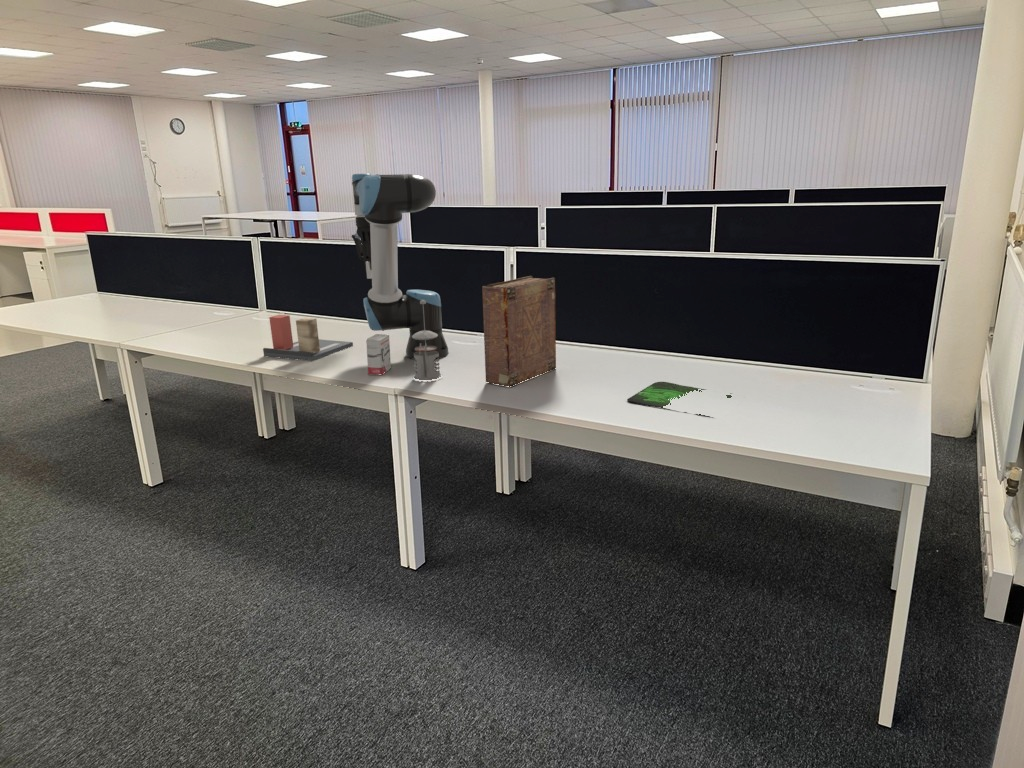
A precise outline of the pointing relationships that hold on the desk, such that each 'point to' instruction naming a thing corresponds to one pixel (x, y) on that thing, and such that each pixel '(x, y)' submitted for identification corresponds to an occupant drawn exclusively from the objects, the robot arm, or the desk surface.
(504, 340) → the book
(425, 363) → the french press
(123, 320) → the desk surface
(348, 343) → the track board
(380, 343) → the ink box
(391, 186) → the robot arm
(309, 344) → the birch slider
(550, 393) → the desk surface
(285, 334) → the red slider
